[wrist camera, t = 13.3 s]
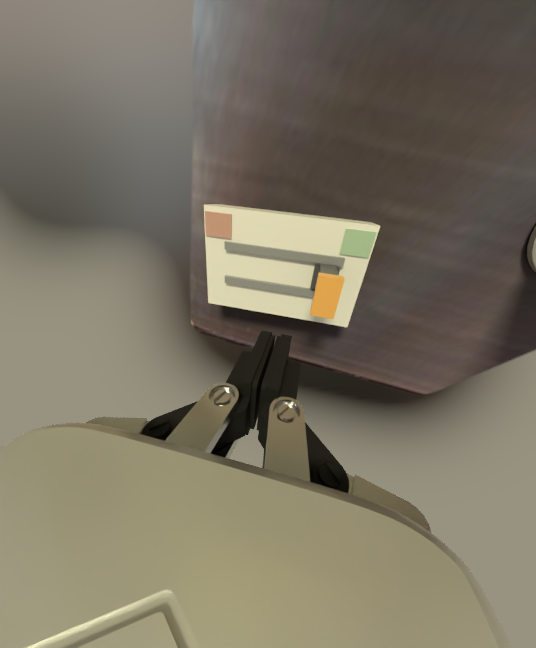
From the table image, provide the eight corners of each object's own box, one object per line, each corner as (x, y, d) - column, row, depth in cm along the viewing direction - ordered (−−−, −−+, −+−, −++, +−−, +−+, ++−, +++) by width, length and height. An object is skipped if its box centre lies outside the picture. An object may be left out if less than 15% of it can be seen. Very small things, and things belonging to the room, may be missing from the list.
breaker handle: (340, 262, 28) (347, 280, 22) (332, 294, 31) (336, 319, 24) (316, 258, 29) (315, 275, 22) (309, 291, 31) (307, 314, 25)
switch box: (371, 222, 30) (381, 226, 25) (343, 312, 37) (347, 329, 32) (218, 204, 33) (201, 204, 28) (220, 291, 40) (206, 304, 35)
